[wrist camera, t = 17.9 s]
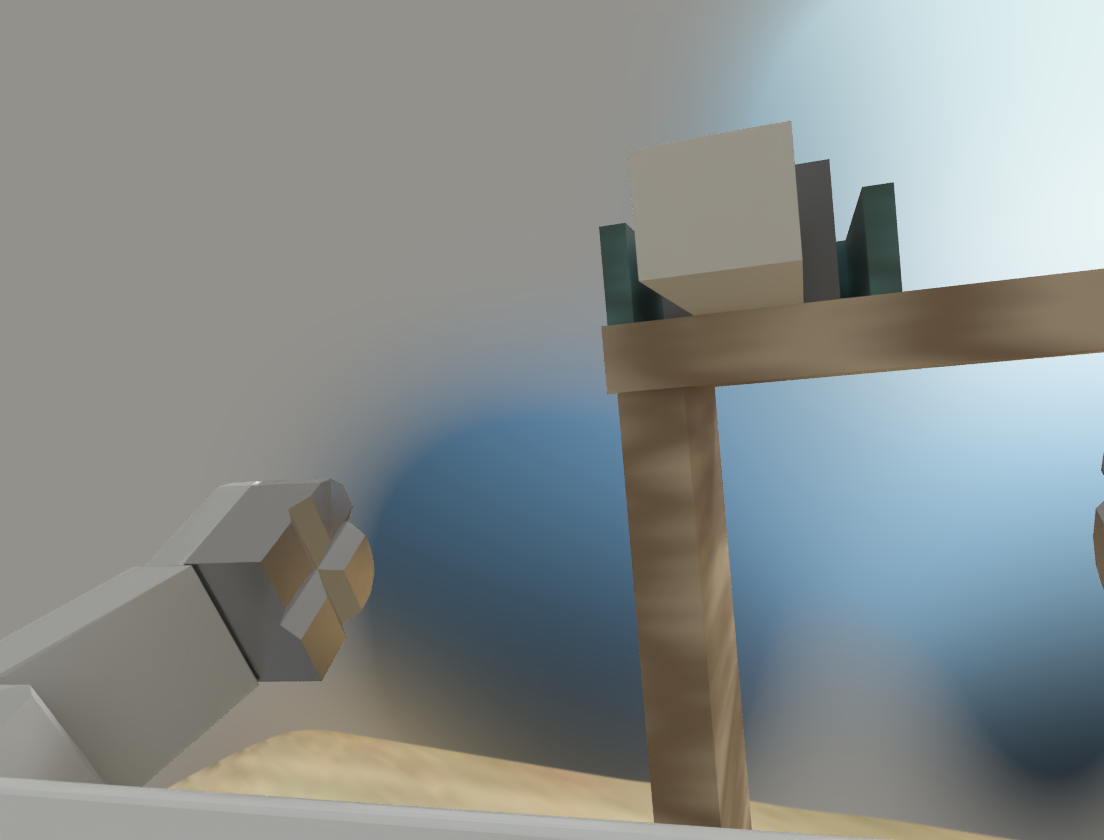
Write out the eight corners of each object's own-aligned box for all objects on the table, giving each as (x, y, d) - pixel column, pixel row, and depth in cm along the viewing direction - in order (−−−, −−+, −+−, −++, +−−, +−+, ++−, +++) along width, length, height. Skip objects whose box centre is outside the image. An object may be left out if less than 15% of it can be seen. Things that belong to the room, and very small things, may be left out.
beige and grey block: (861, 252, 15) (843, 24, 14) (588, 287, 16) (570, 81, 16) (832, 320, 30) (823, 210, 30) (694, 335, 31) (685, 230, 31)
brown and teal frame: (1308, 1033, 28) (1246, 191, 28) (1567, 1364, 19) (1479, 89, 18) (710, 965, 34) (651, 270, 34) (675, 1189, 25) (592, 224, 24)
